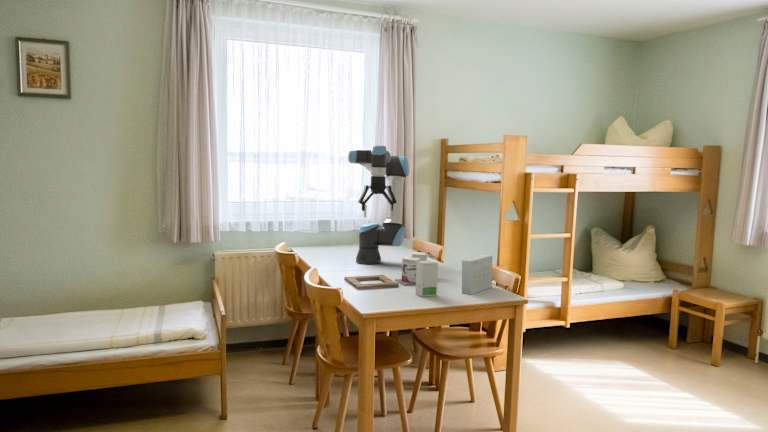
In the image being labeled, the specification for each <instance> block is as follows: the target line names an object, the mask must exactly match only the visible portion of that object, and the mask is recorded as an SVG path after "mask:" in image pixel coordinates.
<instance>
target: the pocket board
mask: <svg viewBox="0 0 768 432" xmlns="http://www.w3.org/2000/svg"><path fill="white" fill-rule="evenodd" d="M344 281H345V282H347V283H348V284H349V285H350V286H352V287H353V288H355V289H356V290H359V291H360V290H370V289H371V290H372V289H386V288H387V289H388V288H399V283H398V282H397V281H395V280H392V279H391V278H389V277H387V276H386V275H385V274H375V275H373V274H371V275H359V276H358V275H355V276H345V277H344ZM362 281H379V282H376V283H375V282H374V283H362Z"/></svg>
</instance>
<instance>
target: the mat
mask: <svg viewBox="0 0 768 432" xmlns="http://www.w3.org/2000/svg"><path fill="white" fill-rule="evenodd" d="M401 279H402V278H396V279H395V278H394V282H396V283H398V284H400V285H402V286H403V287H406V286H416V283H415V282H406V281H401Z"/></svg>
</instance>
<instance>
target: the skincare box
mask: <svg viewBox="0 0 768 432" xmlns="http://www.w3.org/2000/svg"><path fill="white" fill-rule="evenodd" d="M438 267H439V262H437V261H433V260H427V261H417V270H416V285H415V295H417V296H419V297H421V298H422V297H423V298H425V297H426V298H427V297H437V293H438V273H439V269H438Z"/></svg>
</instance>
